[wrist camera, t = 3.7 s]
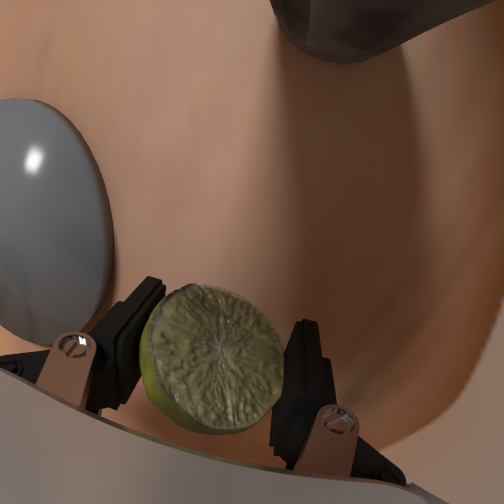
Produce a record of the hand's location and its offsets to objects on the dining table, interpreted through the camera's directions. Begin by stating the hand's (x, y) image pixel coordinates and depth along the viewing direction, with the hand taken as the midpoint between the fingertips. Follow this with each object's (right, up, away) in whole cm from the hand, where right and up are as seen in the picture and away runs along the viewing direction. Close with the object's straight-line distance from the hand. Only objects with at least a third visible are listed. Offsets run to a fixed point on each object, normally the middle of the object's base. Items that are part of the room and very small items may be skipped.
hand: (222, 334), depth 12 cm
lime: (0, 0, +1) cm, 1 cm away
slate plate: (-11, +4, +1) cm, 12 cm away
